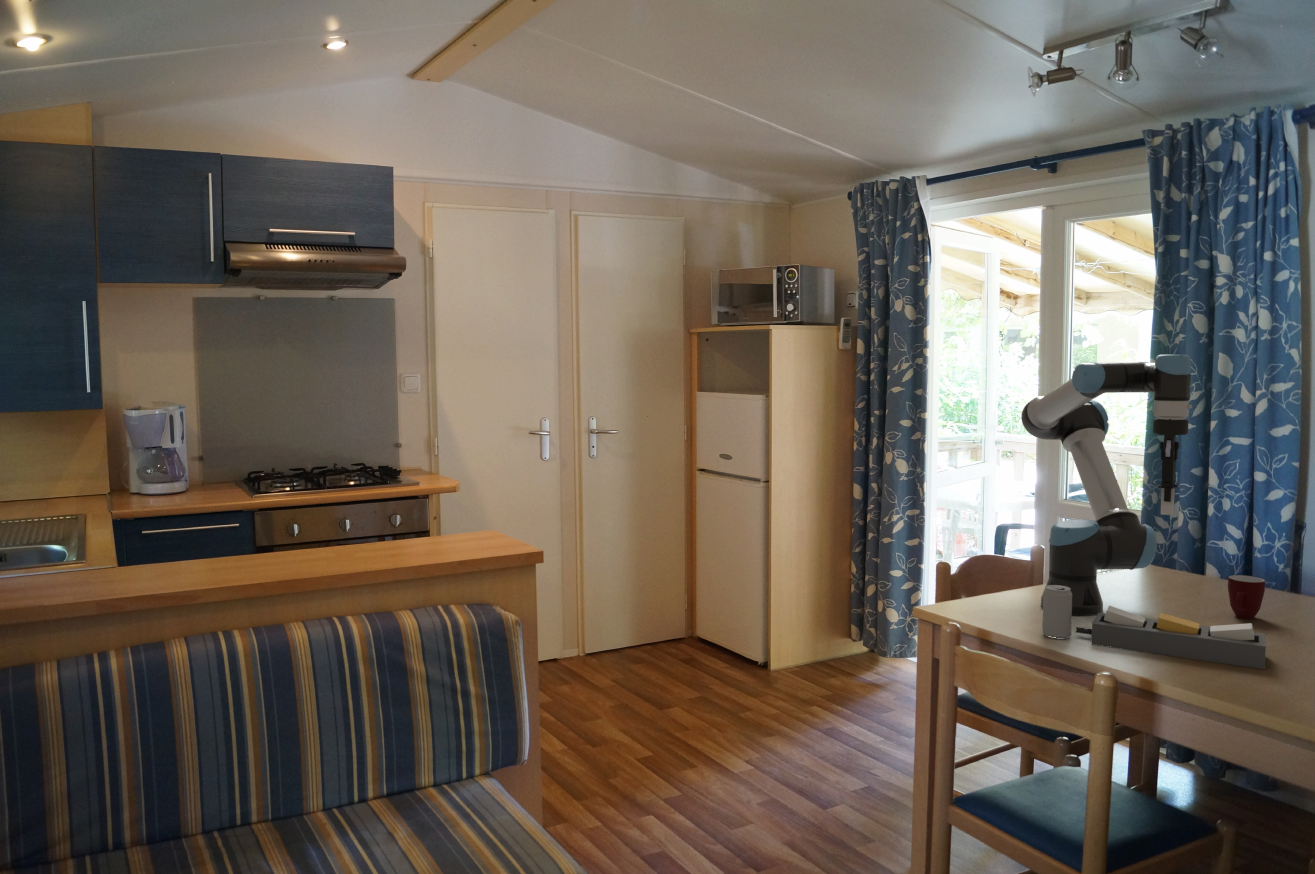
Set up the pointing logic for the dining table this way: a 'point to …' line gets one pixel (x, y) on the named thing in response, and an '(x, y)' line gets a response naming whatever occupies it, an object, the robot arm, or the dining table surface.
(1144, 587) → the dining table surface
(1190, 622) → the rocker amber
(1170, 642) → the power strip
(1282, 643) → the dining table surface
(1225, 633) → the rocker grey right
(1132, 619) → the rocker grey left
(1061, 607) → the beverage can
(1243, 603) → the mug
